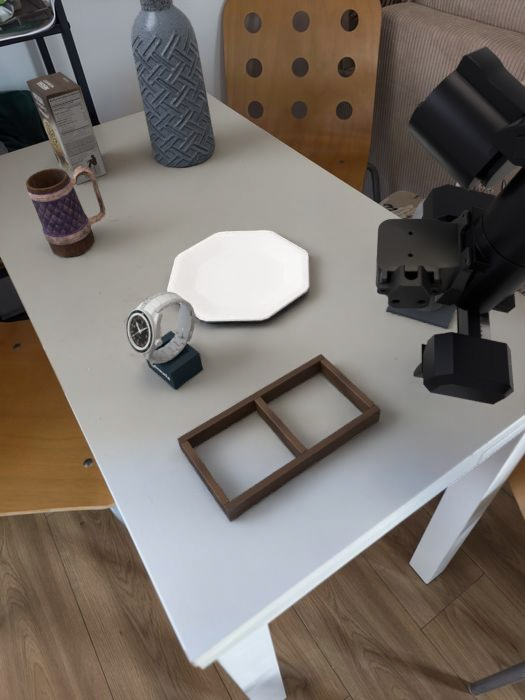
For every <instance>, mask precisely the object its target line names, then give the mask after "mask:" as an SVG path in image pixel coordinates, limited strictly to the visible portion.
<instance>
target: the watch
mask: <svg viewBox="0 0 525 700" xmlns="http://www.w3.org/2000/svg"><path fill="white" fill-rule="evenodd" d="M179 303H181V304H179ZM175 304H179V305H180V308H179V309H178V317H177V321H176V326H175V329H174V331H172V330H170V331H168V332H167V333H165V334H164V335H163V334H162V325H161V323H162V320H163V319H162V317H163V313H162V311H163V310H164V309H166V308H168V307H169V306H171V305H175ZM196 318H197V317H196V314H195V313H194V309H193V306H192V305H191V304H190V303H189V302H187V301H186V300H185V299H183V298H182V297H180V296H179V295H177V294H176V293H173V292H167V291H161V292H158V293H156V294H153V295H152V296H151V297H149V298H147V299H146V300H143V301H142V302H141V303H140V304H139V305H137V307H136V308H135V309H133V310H131V311H130V313H129V314H128V316H127V318H126V322H125V332H126V337H127V340H128V343H129V345H130V346H131V348H132V349H133V350H134V352H136V353H138V354H140V355H141V356H142V357H143V358H144V359H145V361H146V363H147V365H148V367H149V369H150V370H151V371H152V372H154V373H155V374H156V375H158V376H159V377H160V378H161V379H162V380H163V381H164V382H166V384H168V385H169V386H170V387H171V388H172V389H174V390H175V391H177V390H179V389H180V388H181V387H183V386H184V385H186V383H188V382H189V381H191V380H192V379H193V378H195V377H196V376H197V375H198V374H200V373H201V372H202V371H204V366H203V362H202V357H201V353H200V352H199V351H198V350H197V349H195V348H194V347H193V346H192V345H190V344H189V343H188V342H191V339H192V336H193V333H194V329H195V325H196Z"/></svg>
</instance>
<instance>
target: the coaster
mask: <svg viewBox="0 0 525 700" xmlns="http://www.w3.org/2000/svg"><path fill="white" fill-rule="evenodd" d="M387 305H388V304H387ZM455 311H456V306H455V305H454V304H453V305H451V306H448V305H443V306H442V307H441V308H440V309H438V310H436V311H431V312H426V311H421V310H418V309H408V308H393V307H391V306H390V305H388V306H387V307H386V310H385V312H386V313H391V314H394V315H397V316H401V317H405V318H407V319H412V320H415V321H417V322H421V323H424V324H427V325H432V326H435V327H438V328H441V329H446V330H448V329H449V326H450V324H451V321H452V319H453V317H454V314H455Z"/></svg>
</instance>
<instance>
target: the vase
mask: <svg viewBox="0 0 525 700" xmlns="http://www.w3.org/2000/svg"><path fill="white" fill-rule="evenodd" d="M139 4H140V8H141V9H140V11H139V12H138V14H137V15H136V16H135V18H134V20H133V23H132V26H131V34H130V38H131V40H130V41H131V50H132V51H131V52H132V57H133V61H134V66H135V69H136V70H135V71H136V77H137V82H138V87H139V90H140V91H139V92H140V96H141V101H142V107H143V112H144V116H145V122H146V127H147V132H148V137H149V141H150V148H151V150H152V154H153V157H154V158H155V160H156V161H157V162H158V163H159V164H161V165H164V166H167V167H173V168H182V167H183V168H184V167H191V166H193V165H198V164H200V163H203V162H204V161H207V160H208V159H209V158H211V156H212V155H214V152H215V149H216V142H215V135H214V130H213V129H214V128H213V124H212V118H211V117H212V116H211V112H210V106H209V101H208V96H207V90H206V85H205V84H206V83H205V77H204V73H203V66H202V62H201V55H200V51H199V50H200V49H199V44H198V40H197V36H196V33H195V29H194V27H193V24H192V23H191V20H190V18H189V17H188V16H187V15H186V14H185V13H184V12H183V11H182V10H181V9H180V8H178V7H177V6H175V5H174V0H139Z"/></svg>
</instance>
